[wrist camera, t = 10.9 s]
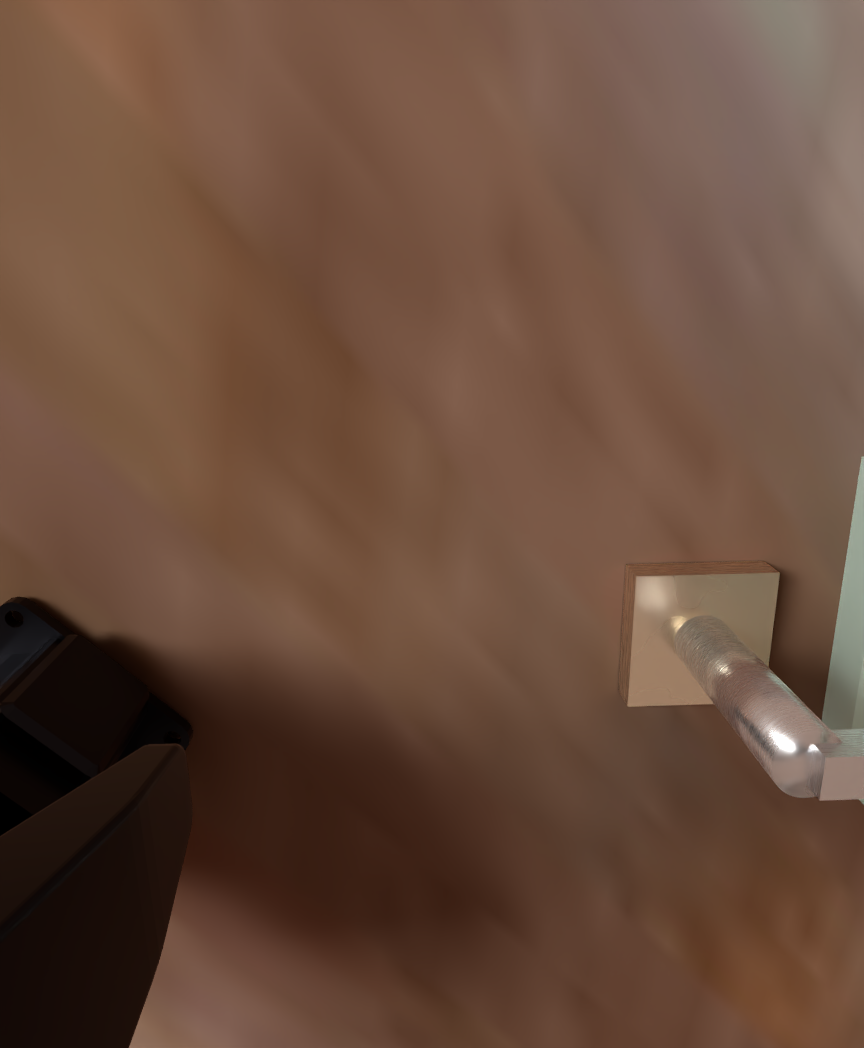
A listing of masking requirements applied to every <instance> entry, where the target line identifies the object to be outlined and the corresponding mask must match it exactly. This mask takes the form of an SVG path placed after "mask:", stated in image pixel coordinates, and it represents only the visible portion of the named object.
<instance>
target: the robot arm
mask: <svg viewBox="0 0 864 1048" xmlns="http://www.w3.org/2000/svg"><path fill="white" fill-rule="evenodd" d="M12 611H17V612H19V613H21V615H22V616H23V619H24V622H20V621H18V620H15V618H14V617H13V616H12ZM169 731H174V732H176V733H178V734H179V735H180V736H181V738H180V739H173V738H171V737H170V736H169V735H168V732H169ZM192 736H193V729H192V726H191V725H190V723H189V722H188V721H187V720H186V719H184V718H183V717H182V716H180V715H179V714H178V713H176V712H175V711H174V710H173V709H171V708H170V707H169V706H167V705H166V704H165V703H163V702H162V701H161V700H160V699H158V698H157V697H156V696H154V695H153V694H152V693H150V692H149V691H148V688H147V686H146V685H145V684H143V683H142V682H141V681H139V680H138V679H137V678H136V677H134V676H133V675H132V674H130V673H129V672H128V671H127V670H125V669H124V668H123V667H121V666H120V665H119V664H117V663H116V662H115V661H114V660H112V659H111V658H110V657H108V656H107V655H106V654H104V653H103V652H102V651H101V650H99V649H98V648H97V647H95V646H94V645H93V644H91V643H90V642H89V641H88V640H86V639H85V638H84V637H82V636H81V635H75V634H74V633H72V632H71V631H70V630H69V629H67V628H66V627H65V626H63V625H62V624H61V623H59V622H58V621H57V620H56V619H54V618H53V617H52V616H50V615H49V614H48V613H47V612H45V611H44V610H43V609H41V608H40V607H39V606H37V605H36V604H35V603H34V602H32V601H30V600H29V599H27V598H23V597H15V598H11V599H10V600H8V601H7V602H5V603H4V604H3V605H2V606H0V1048H129V1046H130V1043H131V1040H132V1037H133V1035H134V1032H135V1029H136V1026H137V1023H138V1021H139V1018H140V1015H141V1012H142V1009H143V1006H144V1004H145V1001H146V998H147V995H148V992H149V990H150V987H151V984H152V981H153V978H154V975H155V972H156V969H157V966H158V963H159V960H160V956H161V952H162V949H163V945H164V941H165V937H166V933H167V928H168V924H169V920H170V916H171V911H172V907H173V903H174V899H175V894H176V890H177V886H178V882H179V877H180V873H181V869H182V865H183V860H184V856H185V852H186V848H187V843H188V839H189V835H190V830H191V825H192V800H191V792H190V783H189V775H188V766H187V758H186V753H185V749H186V748H187V746H188V745H189V743H190V741H191V739H192Z"/></svg>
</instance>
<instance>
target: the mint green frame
mask: <svg viewBox="0 0 864 1048" xmlns="http://www.w3.org/2000/svg"><path fill="white" fill-rule="evenodd" d="M822 722H823V723H824V724H825V725H826V726H827V727H828V728H829V729H830V730H836V729H864V456H862V459H861V465H860V472H859V478H858V485H857V491H856V498H855V504H854V511H853V517H852V524H851V531H850V537H849V544H848V550H847V557H846V563H845V570H844V576H843V583H842V590H841V596H840V603H839V609H838V616H837V622H836V629H835V635H834V642H833V648H832V655H831V662H830V668H829V675H828V681H827V688H826V694H825V701H824V707H823V714H822ZM859 800H860V801H861V803H862V804H863V805H864V799H859Z"/></svg>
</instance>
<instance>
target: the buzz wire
mask: <svg viewBox="0 0 864 1048" xmlns="http://www.w3.org/2000/svg"><path fill="white" fill-rule="evenodd" d="M779 576H780V573H779V572H778V571H777V570H775V569H774V568H773V567H771V566H770V565H768V564H767V563H766V562H764V561H741V562H701V563H661V564H626V574H625V590H624V606H623V622H622V638H621V655H620V671H619V687H618V690H619V692H620V694H621V695H622V697H623V699H624V701H625V703H626V705H627V706H628V707H632V706H665V705H697V704H715V706H716V707H717V708H718V710H719V711H720V712H721V714H722V715H723V716H724V717H725V719H726V720H727V721H728V723H729V724H730V725H731V727H732V728H733V729H734V730H735V732H736V733H737V734H738V736H739V737H740V738H741V740H742V741H743V742H744V743H745V745H746V746H747V747H748V749H749V750H750V751H751V753H752V754H753V755H754V756H755V758H756V759H757V760H758V762H759V763H760V764H761V766H762V767H763V768H764V769H765V771H766V772H767V773H768V775H769V776H770V777H771V779H772V780H773V781H774V782H775V784H776V785H777V786H778V787H779V789H780V790H782V791H783V792H784V793H786V794H788V795H790V796H793V797H798V798H810V797H815V796H816V797H817V798H818V799H819V801H823V800H851V799H864V729H836V730H830V729H829V728H828V727H827V726H826V725H825V724H824V723H823V722H822V721H821V720H820V719H819V718H818V717H817V716H816V715H815V714H814V713H813V712H812V711H811V710H810V709H809V708H808V707H807V706H806V705H805V704H804V703H803V702H802V701H801V700H800V699H799V698H798V697H797V696H796V695H795V694H794V693H793V692H792V691H791V690H790V689H789V688H788V687H787V686H786V685H785V683H784V682H783V681H782V680H781V679H780V678H779V677H778V676H777V675H776V674H775V673H774V672H773V671H772V670H771V669H770V668H769V667H768V666H769V658H770V650H771V642H772V633H773V625H774V617H775V609H776V601H777V593H778V584H779Z"/></svg>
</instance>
